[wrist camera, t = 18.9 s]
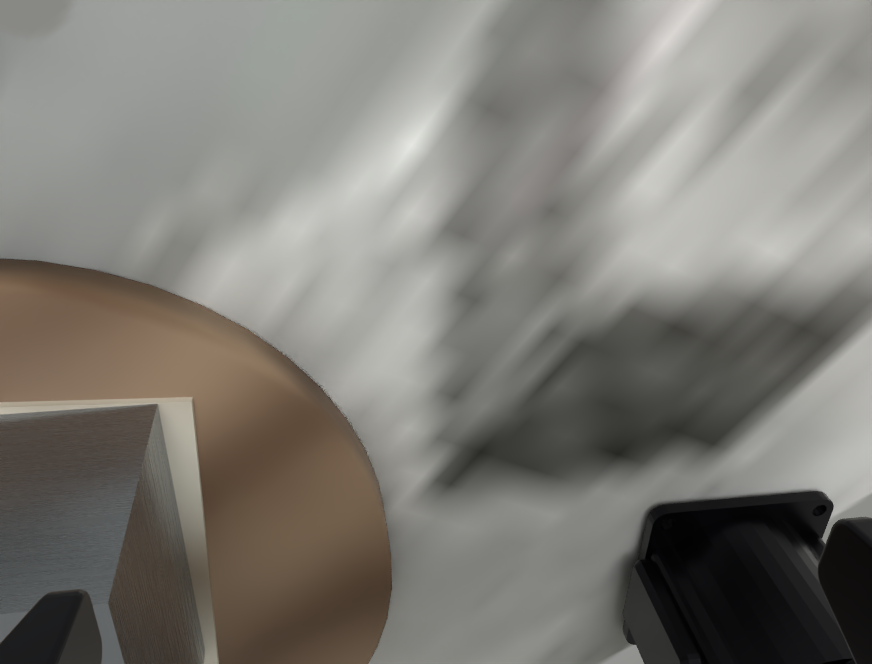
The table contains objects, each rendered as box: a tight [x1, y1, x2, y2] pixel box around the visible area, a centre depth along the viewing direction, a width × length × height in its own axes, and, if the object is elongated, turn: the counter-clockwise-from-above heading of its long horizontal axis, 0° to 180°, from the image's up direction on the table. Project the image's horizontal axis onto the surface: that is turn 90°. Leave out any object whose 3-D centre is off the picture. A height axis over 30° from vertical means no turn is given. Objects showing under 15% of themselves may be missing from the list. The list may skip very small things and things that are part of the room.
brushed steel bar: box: [0, 404, 205, 664], centre depth 18 cm, size 9×4×6 cm, turn 179°
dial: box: [0, 259, 392, 664], centre depth 21 cm, size 20×20×6 cm
